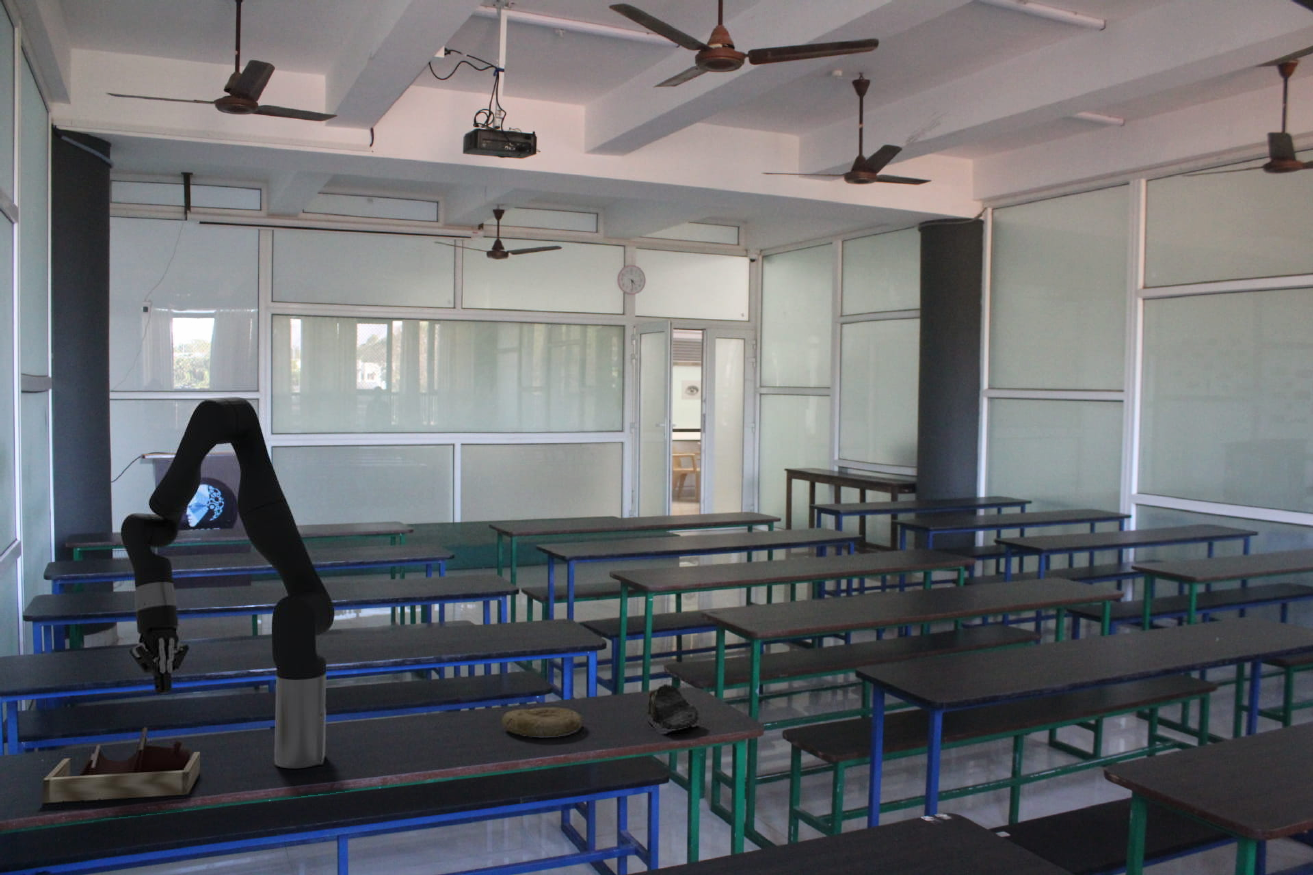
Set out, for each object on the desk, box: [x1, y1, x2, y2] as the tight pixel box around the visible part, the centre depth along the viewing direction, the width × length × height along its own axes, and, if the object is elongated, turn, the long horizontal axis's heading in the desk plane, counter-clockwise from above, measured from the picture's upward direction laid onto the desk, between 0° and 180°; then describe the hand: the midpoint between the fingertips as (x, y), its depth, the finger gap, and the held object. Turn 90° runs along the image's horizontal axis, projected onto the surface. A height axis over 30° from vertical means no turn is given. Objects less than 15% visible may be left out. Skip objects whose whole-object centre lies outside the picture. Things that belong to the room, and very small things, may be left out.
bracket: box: [79, 727, 192, 776], centre depth 183 cm, size 6×17×10 cm, turn 115°
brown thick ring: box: [501, 706, 584, 736], centre depth 221 cm, size 17×15×5 cm
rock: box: [647, 683, 700, 729], centre depth 226 cm, size 14×11×10 cm
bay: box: [42, 751, 201, 804], centre depth 181 cm, size 23×11×4 cm, turn 104°
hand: (163, 693), depth 200 cm, fingers closed
